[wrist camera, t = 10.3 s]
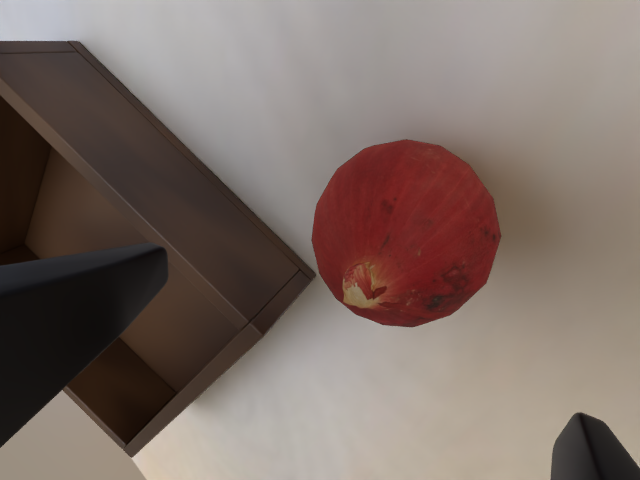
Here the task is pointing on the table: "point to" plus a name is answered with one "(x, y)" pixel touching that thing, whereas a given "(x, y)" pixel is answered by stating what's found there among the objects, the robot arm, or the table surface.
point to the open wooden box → (134, 233)
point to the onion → (405, 233)
